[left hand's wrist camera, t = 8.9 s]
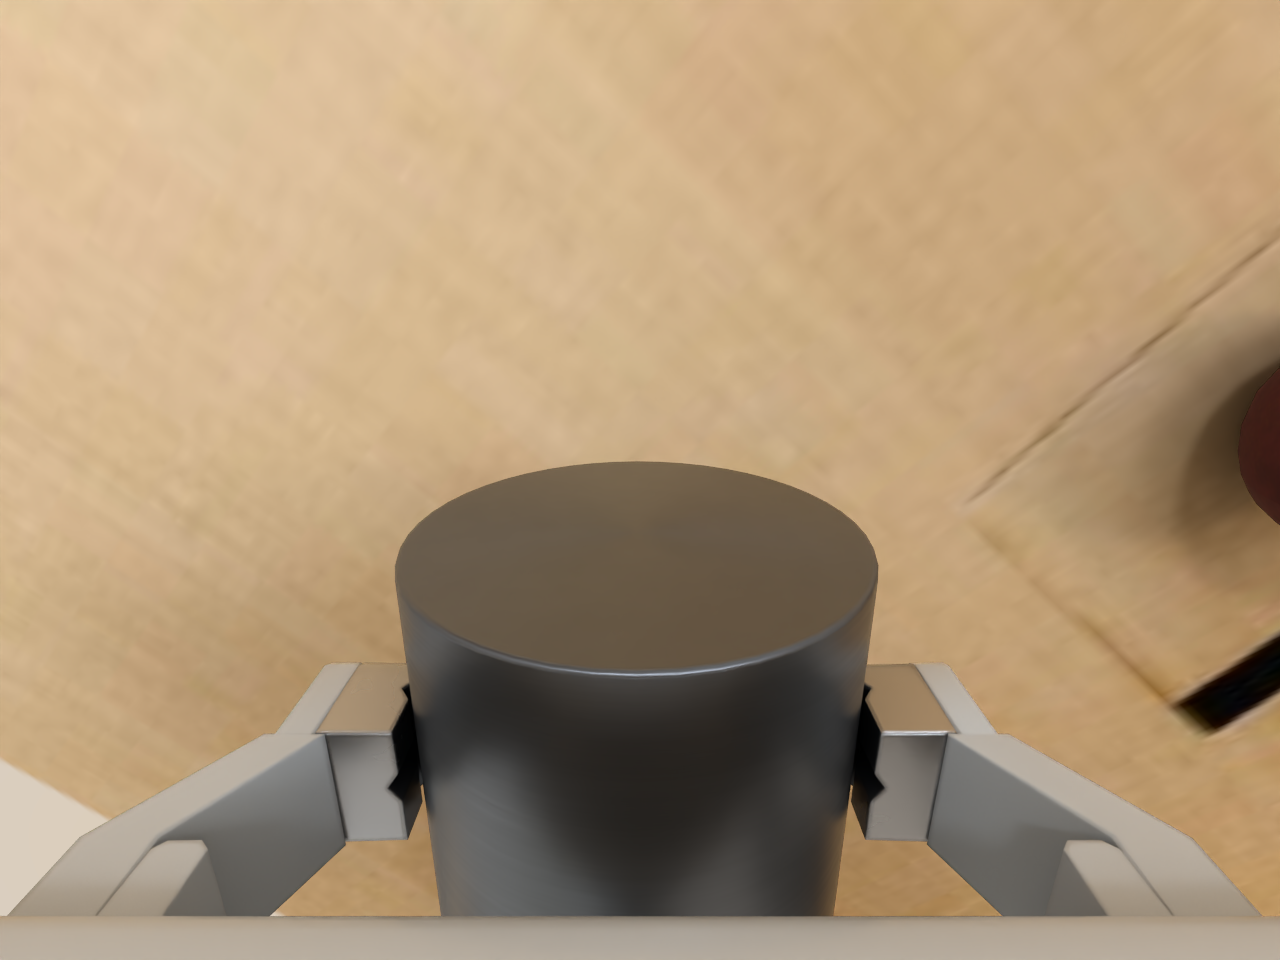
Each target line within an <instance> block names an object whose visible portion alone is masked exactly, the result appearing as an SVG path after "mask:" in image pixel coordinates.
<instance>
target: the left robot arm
mask: <svg viewBox="0 0 1280 960" xmlns="http://www.w3.org/2000/svg"><path fill="white" fill-rule="evenodd" d="M421 785H423V779H422V772H421V765H420V758H419V750H418V743H417V736H416V729H415V721H414V714H413V707H412V699H411V692H410V685H409V678H408V670H407V664H403V663H330V664H327V665H325V666H324V667H323V668H322V669H321V671H320V672H319V674H318V675H317V676H316V678H315V679H314V680H313V682H312V683H311V685H310V686H309V687H308V689H307V690H306V691H305V693H304V694H303V696H302V697H301V698H300V700H299V701H298V702H297V704H296V705H295V707H294V708H293V709H292V711H291V712H290V713H289V715H288V716H287V718H286V719H285V720H284V722H283V723H282V724H281V726H280V727H279V729H278V730H277V731H276V733H275V734H263V735H261V736H260V737H258V738H256V739H254V740H252V741H251V742H249V743H247V744H245V745H243V746H242V747H240V748H238V749H236V750H235V751H233V752H231V753H229V754H227V755H226V756H224V757H222V758H220V759H218V760H217V761H215V762H213V763H211V764H210V765H208V766H206V767H204V768H202V769H201V770H199V771H197V772H195V773H193V774H192V775H190V776H188V777H186V778H185V779H183V780H181V781H179V782H177V783H176V784H174V785H172V786H170V787H168V788H167V789H165V790H163V791H161V792H160V793H158V794H156V795H154V796H152V797H151V798H149V799H147V800H145V801H143V802H142V803H140V804H138V805H136V806H135V807H133V808H131V809H129V810H127V811H126V812H124V813H122V814H120V815H118V816H117V817H115V818H113V819H111V820H110V821H108V822H106V823H104V824H102V825H101V826H99V827H97V828H95V829H94V830H92V831H90V832H88V833H86V834H85V835H83V836H81V837H79V839H78V840H77V841H76V842H75V843H74V844H73V845H72V846H71V847H70V848H69V849H68V850H67V852H66V853H65V854H64V855H63V856H62V857H61V858H60V859H59V860H58V861H57V862H56V864H55V865H54V866H53V867H52V868H51V869H50V870H49V871H48V872H47V873H46V874H45V875H44V877H43V878H42V879H41V880H40V881H39V882H38V883H37V884H36V885H35V886H34V888H32V890H31V891H30V892H29V893H28V894H27V895H26V896H25V897H24V898H23V899H22V900H21V901H20V903H19V904H18V905H17V906H16V907H15V908H14V909H13V910H12V911H11V912H10V913H9V914H8V916H0V960H1280V916H1262V915H1261V914H1260V913H1259V912H1258V910H1257V909H1256V908H1255V907H1254V906H1253V905H1252V904H1251V903H1250V902H1249V900H1248V899H1247V898H1246V897H1245V896H1244V895H1243V894H1242V893H1241V892H1240V890H1239V889H1238V888H1237V887H1236V886H1235V885H1234V884H1233V883H1232V882H1231V881H1230V879H1229V878H1228V877H1227V876H1226V875H1225V874H1224V873H1223V872H1222V871H1221V869H1220V868H1219V867H1218V866H1217V865H1216V864H1215V863H1214V862H1213V861H1212V859H1211V858H1210V857H1209V856H1208V855H1207V854H1206V853H1205V852H1204V851H1203V849H1202V848H1201V847H1200V846H1199V845H1198V844H1197V843H1196V842H1195V841H1194V839H1193V838H1191V837H1189V836H1187V835H1186V834H1184V833H1182V832H1180V831H1179V830H1177V829H1175V828H1173V827H1172V826H1170V825H1168V824H1166V823H1165V822H1163V821H1161V820H1159V819H1158V818H1156V817H1154V816H1152V815H1150V814H1149V813H1147V812H1145V811H1143V810H1142V809H1140V808H1138V807H1136V806H1135V805H1133V804H1131V803H1129V802H1128V801H1126V800H1124V799H1122V798H1120V797H1119V796H1117V795H1115V794H1113V793H1112V792H1110V791H1108V790H1106V789H1105V788H1103V787H1101V786H1099V785H1098V784H1096V783H1094V782H1092V781H1091V780H1089V779H1087V778H1085V777H1083V776H1082V775H1080V774H1078V773H1076V772H1075V771H1073V770H1071V769H1069V768H1068V767H1066V766H1064V765H1062V764H1061V763H1059V762H1057V761H1055V760H1053V759H1052V758H1050V757H1048V756H1046V755H1045V754H1043V753H1041V752H1039V751H1038V750H1036V749H1034V748H1032V747H1031V746H1029V745H1027V744H1025V743H1024V742H1022V741H1020V740H1018V739H1016V738H1015V737H1013V736H1011V735H1009V734H998V733H997V732H996V731H995V729H994V728H993V726H992V725H991V724H990V722H989V721H988V719H987V718H986V717H985V715H984V714H983V712H982V711H981V710H980V708H979V707H978V706H977V704H976V703H975V701H974V700H973V699H972V697H971V696H970V694H969V693H968V692H967V690H966V689H965V687H964V686H963V685H962V683H961V682H960V680H959V679H958V678H957V676H956V675H955V674H954V672H953V671H952V669H951V668H950V667H949V665H947V664H945V663H943V662H931V663H909V664H871V665H867V666H866V673H865V681H864V688H863V696H862V703H861V711H860V718H859V726H858V733H857V741H856V749H855V756H854V764H853V771H852V779H851V785H852V786H853V790H852V798H851V803H852V805H853V808H854V811H855V813H856V816H857V819H858V821H859V824H860V826H861V829H862V832H863V834H864V837H865V840H895V841H928V842H927V845H928V846H929V847H930V848H931V849H932V850H933V851H935V852H936V853H937V854H938V855H939V856H940V857H941V858H942V859H943V860H944V861H945V862H946V863H947V864H948V865H949V866H950V867H951V868H953V869H954V870H955V871H956V872H957V873H958V874H959V875H960V876H961V877H962V878H963V879H964V880H965V881H966V882H967V883H968V884H969V885H971V886H972V887H973V888H974V889H975V890H976V891H977V892H978V893H979V894H980V895H981V896H982V897H983V898H984V899H985V900H986V901H987V902H989V903H990V904H991V905H992V906H993V907H994V908H995V909H996V910H997V911H998V912H999V913H1000V914H1001V915H1002V916H270V915H271V914H272V913H273V912H274V911H276V910H277V909H278V908H279V907H280V906H281V905H282V904H283V903H284V902H285V901H286V900H287V899H288V898H289V897H291V896H292V895H293V894H294V893H295V892H296V891H297V890H298V889H299V888H300V887H301V886H302V885H303V884H304V883H306V882H307V881H308V880H309V879H310V878H311V877H312V876H313V875H314V874H315V873H316V872H317V871H318V870H319V869H321V868H322V867H323V866H324V865H325V864H326V863H327V862H328V861H329V860H330V859H331V858H332V857H333V856H334V855H336V854H337V853H338V852H339V851H340V850H341V849H342V848H343V847H344V846H345V845H346V843H345V841H377V840H408V837H409V835H410V832H411V830H412V827H413V825H414V822H415V819H416V817H417V814H418V812H419V809H420V806H421V804H422V795H421V787H420V786H421Z"/></svg>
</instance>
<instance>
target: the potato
mask: <svg viewBox="0 0 1280 960" xmlns="http://www.w3.org/2000/svg"><path fill="white" fill-rule="evenodd" d="M1238 455H1239V463H1240V471H1241V475H1242V477H1243V480H1244V482H1245V484H1246V486H1247V489H1248V491H1249V493H1250V494H1251V496H1252V497H1253V499H1254V500H1255V502H1256V503H1257V505H1258V506H1259V507H1260V508H1262V509H1263V510H1264V511H1265V512H1266V513H1267V514H1268V515H1269V516H1270V517H1271V518H1272V519H1273V520H1274V521H1275V522H1276V523H1278V524H1279V525H1280V368H1279V369H1278V370H1277V371H1276V372H1275V373H1274V374H1273V375H1272V376H1271V377H1270V378H1269V379H1268V380H1267V381H1266V382H1265V384H1264V385H1263V386H1262V387H1261V388H1260V389H1259V390H1258V391H1257V393H1256V395H1255V397H1254V399H1253V401H1252V403H1251V406H1250V408H1249V410H1248V412H1247V414H1246V416H1245V418H1244V421H1243V423H1242V427H1241V433H1240V440H1239V446H1238Z"/></svg>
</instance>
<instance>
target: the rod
mask: <svg viewBox="0 0 1280 960" xmlns="http://www.w3.org/2000/svg"><path fill="white" fill-rule="evenodd" d="M395 583H396V590H397V598H398V605H399V612H400V619H401V627H402V634H403V641H404V649H405V656H406V663H407V670H408V678H409V685H410V692H411V699H412V707H413V714H414V721H415V729H416V736H417V743H418V750H419V758H420V765H421V772H422V779H423V787H424V794H425V801H426V809H427V816H428V823H429V830H430V838H431V845H432V852H433V860H434V867H435V874H436V881H437V889H438V896H439V903H440V910H441V916H833V914H834V906H835V899H836V891H837V884H838V876H839V869H840V861H841V854H842V846H843V839H844V831H845V824H846V816H847V809H848V801H849V794H850V786H851V779H852V771H853V764H854V756H855V749H856V741H857V733H858V726H859V718H860V711H861V703H862V696H863V688H864V681H865V673H866V666H867V658H868V651H869V643H870V636H871V628H872V621H873V613H874V606H875V598H876V591H877V583H878V563H877V559H876V555H875V552H874V549H873V546H872V545H871V543H870V541H869V540H868V538H867V536H866V534H865V533H864V532H863V531H862V530H861V529H860V528H859V527H858V526H857V524H856V523H855V522H854V521H852V520H851V519H850V518H849V517H847V516H846V515H845V514H844V513H843V512H841V511H840V510H838V509H836V508H835V507H833V506H832V505H830V504H828V503H827V502H825V501H823V500H821V499H819V498H817V497H815V496H813V495H811V494H809V493H807V492H804V491H802V490H799V489H797V488H794V487H792V486H789V485H786V484H783V483H780V482H777V481H774V480H771V479H767V478H763V477H759V476H756V475H752V474H748V473H743V472H738V471H733V470H728V469H722V468H716V467H709V466H702V465H692V464H683V463H667V462H608V463H593V464H583V465H574V466H566V467H560V468H553V469H547V470H542V471H537V472H532V473H527V474H524V475H520V476H516V477H512V478H508V479H504V480H501V481H498V482H495V483H492V484H489V485H486V486H483V487H481V488H478V489H476V490H473V491H471V492H468V493H466V494H464V495H462V496H460V497H458V498H456V499H454V500H452V501H450V502H448V503H446V504H444V505H443V506H441V507H440V508H438V509H436V510H435V511H433V512H432V513H431V514H429V515H428V516H427V517H426V518H424V519H423V520H422V521H421V522H419V523H418V525H417V526H416V527H415V528H414V529H413V530H412V531H411V532H410V533H409V534H408V536H407V538H406V539H405V541H404V543H403V544H402V546H401V548H400V550H399V554H398V557H397V561H396V564H395Z"/></svg>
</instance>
